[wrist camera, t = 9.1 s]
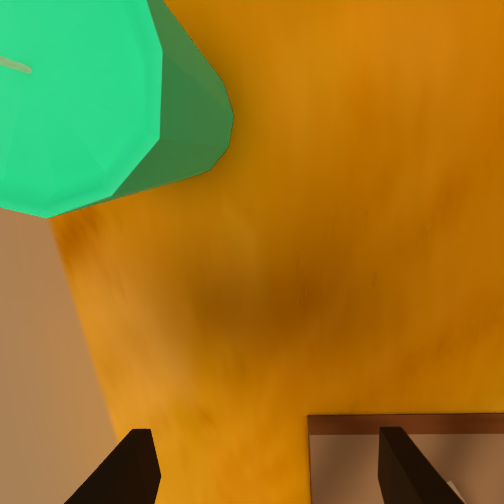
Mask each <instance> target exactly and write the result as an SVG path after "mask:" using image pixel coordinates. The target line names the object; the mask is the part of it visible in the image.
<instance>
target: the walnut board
mask: <svg viewBox="0 0 504 504" xmlns="http://www.w3.org/2000/svg"><path fill="white" fill-rule="evenodd" d="M307 417H308V440H309V463H310V486H311V504H384V501H383V497H382V493H381V489H380V485H379V481H378V453H379V429H380V427H402V428H403V429H404V430H405V432H406V433H407V434H408V435H409V437H410V438H411V439H412V441H413V442H414V443H415V445H416V446H417V447H418V448H419V450H420V451H421V452H422V453H423V455H424V456H425V457H426V458H427V460H428V461H429V462H430V463H431V464H432V466H433V467H434V468H435V469H436V471H437V472H438V473H439V474H440V475H441V477H442V478H443V479H444V480H445V481H446V482H449V481H452V483H453V484H454V486H455V487H456V489H457V490H458V492H459V493H460V495H461V496H462V498H463V499H464V501H465V502H466V504H504V413H500V414H419V415H338V416H307Z"/></svg>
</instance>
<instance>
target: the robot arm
mask: <svg viewBox="0 0 504 504" xmlns="http://www.w3.org/2000/svg"><path fill="white" fill-rule="evenodd" d="M160 479H161V472H160V468H159V464H158V459H157V455H156V451H155V446H154V442H153V438H152V434H151V429H132V430H131V431H130V432H129V433H128V434H127V435H126V437H125V438H124V439H123V440H122V441H121V442H120V443H119V444H118V445H117V446H116V448H115V449H114V450H113V451H112V452H111V453H110V454H109V455H108V457H107V458H106V459H105V460H104V461H103V462H102V463H101V464H100V465H99V467H98V468H97V469H96V470H95V471H94V472H93V473H92V474H91V475H90V476H89V477H88V479H87V480H86V481H85V482H84V483H83V484H82V485H81V486H80V487H79V488H78V489H77V490H76V492H75V493H74V494H73V495H72V496H71V497H70V498H69V499H68V500H67V501H66V502H65V503H64V504H154V503H155V499H156V496H157V492H158V487H159V483H160ZM378 481H379V485H380V489H381V493H382V497H383V501H384V504H465V503H464V502H463V501H462V500H461V499H460V497H459V496H458V495H457V494H456V493H455V492H454V491H453V489H452V488H451V487H450V486H449V485H448V484H447V482H446V481H445V480H444V479H443V478H442V477H441V475H440V474H439V473H438V472H437V471H436V469H435V468H434V467H433V466H432V464H431V463H430V462H429V461H428V460H427V458H426V457H425V456H424V455H423V453H422V452H421V451H420V450H419V448H418V447H417V446H416V445H415V443H414V442H413V441H412V439H411V438H410V437H409V435H408V434H407V433H406V432H405V430H404V429H403V428H402V427H380V429H379V453H378Z"/></svg>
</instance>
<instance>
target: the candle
mask: <svg viewBox="0 0 504 504" xmlns="http://www.w3.org/2000/svg"><path fill="white" fill-rule="evenodd" d="M233 118H234V114H233V111H232V108H231V105H230V102H229V98H228V95H227V92H226V89H225V86H224V83H223V82H222V80H221V79H220V77H219V76H218V75H217V73H216V72H215V71H214V69H213V68H212V67H211V65H210V64H209V63H208V61H207V60H206V58H205V57H204V56H203V54H202V53H201V52H200V50H199V49H198V48H197V46H196V45H195V44H194V42H193V41H192V40H191V38H190V37H189V35H188V34H187V33H186V31H185V30H184V29H183V27H182V26H181V25H180V23H179V22H178V21H177V19H176V18H175V16H174V15H173V14H172V12H171V11H170V10H169V8H168V7H167V6H166V4H165V3H164V2H163V0H0V207H1V208H5V209H9V210H14V211H18V212H23V213H27V214H31V215H35V216H40V217H43V218H50V217H54V216H57V215H61V214H64V213H68V212H71V211H75V210H78V209H82V208H85V207H89V206H92V205H96V204H99V203H103V202H106V201H110V200H113V199H117V198H120V197H124V196H127V195H131V194H134V193H138V192H141V191H145V190H148V189H152V188H155V187H159V186H163V185H166V184H170V183H173V182H177V181H180V180H183V179H186V178H189V177H192V176H195V175H198V174H201V173H204V172H207V171H210V169H211V168H212V167H213V166H214V164H215V163H216V162H217V161H218V160H219V158H220V157H221V156H222V155H223V153H224V152H225V151H226V150H227V149H228V147H229V141H230V135H231V130H232V124H233Z"/></svg>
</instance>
